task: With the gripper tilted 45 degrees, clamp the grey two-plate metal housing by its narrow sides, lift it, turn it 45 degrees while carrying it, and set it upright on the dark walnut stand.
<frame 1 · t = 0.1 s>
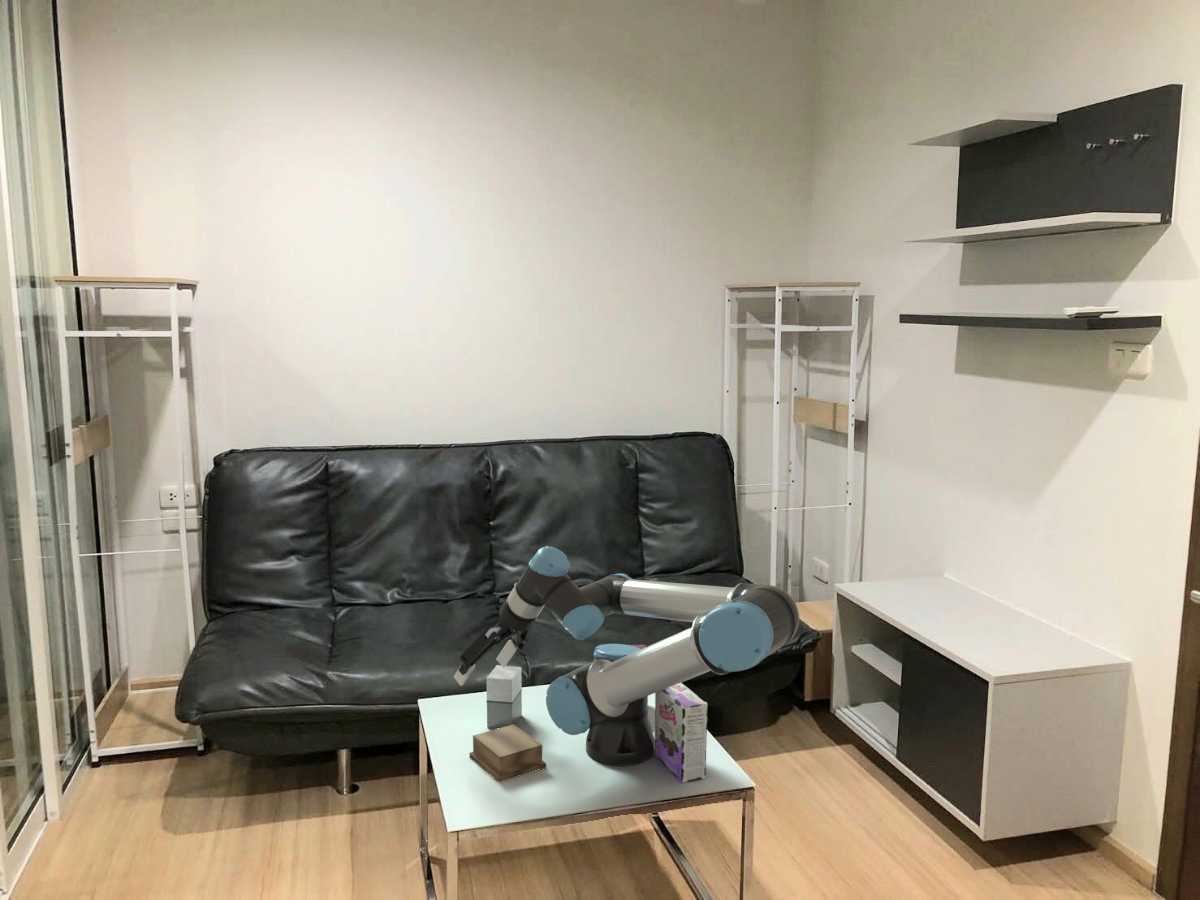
hand: (479, 671, 212), 15 cm above the table, tool tilted 35°, fingers open, 13 cm apart
candy box: (679, 767, 201), on the table
walnut stand: (507, 762, 202), on the table
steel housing: (504, 721, 223), on the table
greeting card: (621, 709, 230), on the table
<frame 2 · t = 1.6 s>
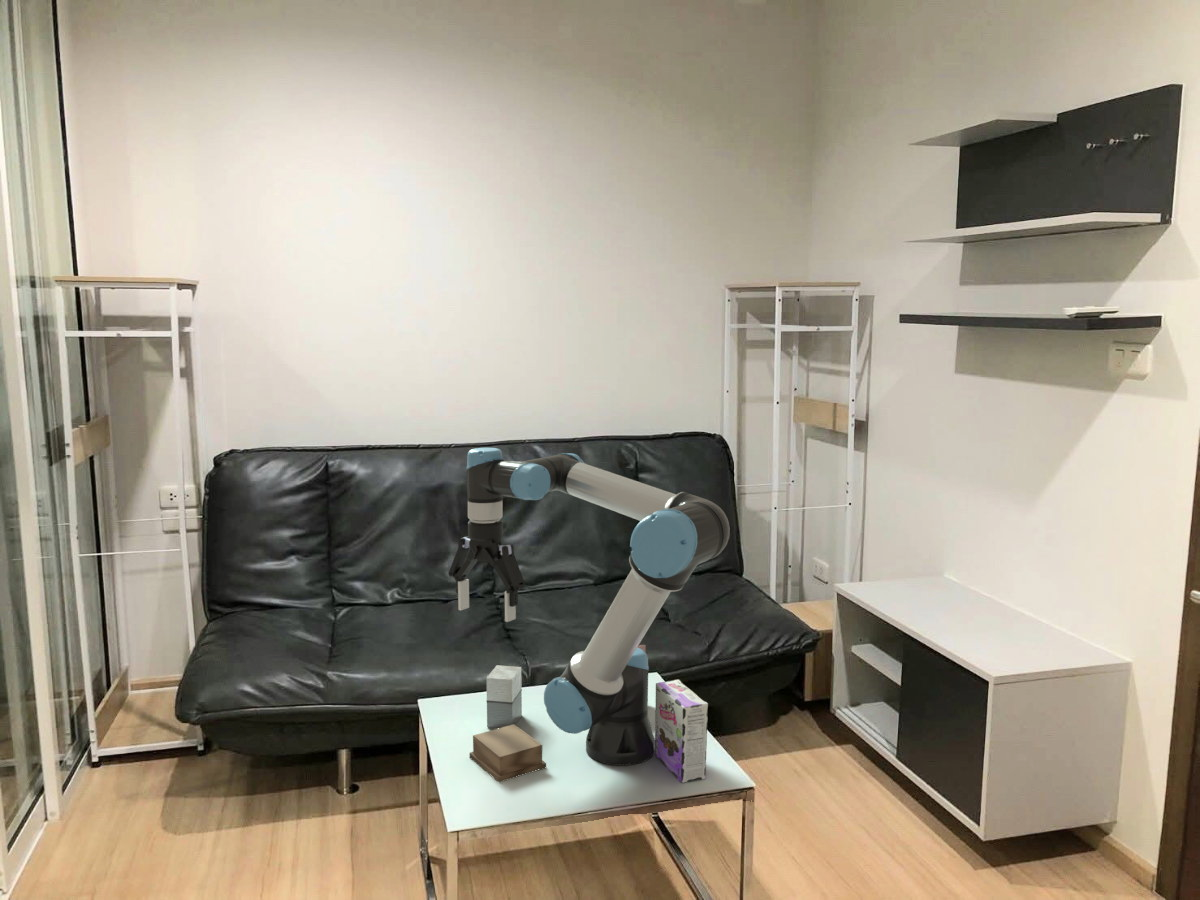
hand: (486, 614, 209), 29 cm above the table, tool pointing down, fingers open, 13 cm apart
nothing on the table moved.
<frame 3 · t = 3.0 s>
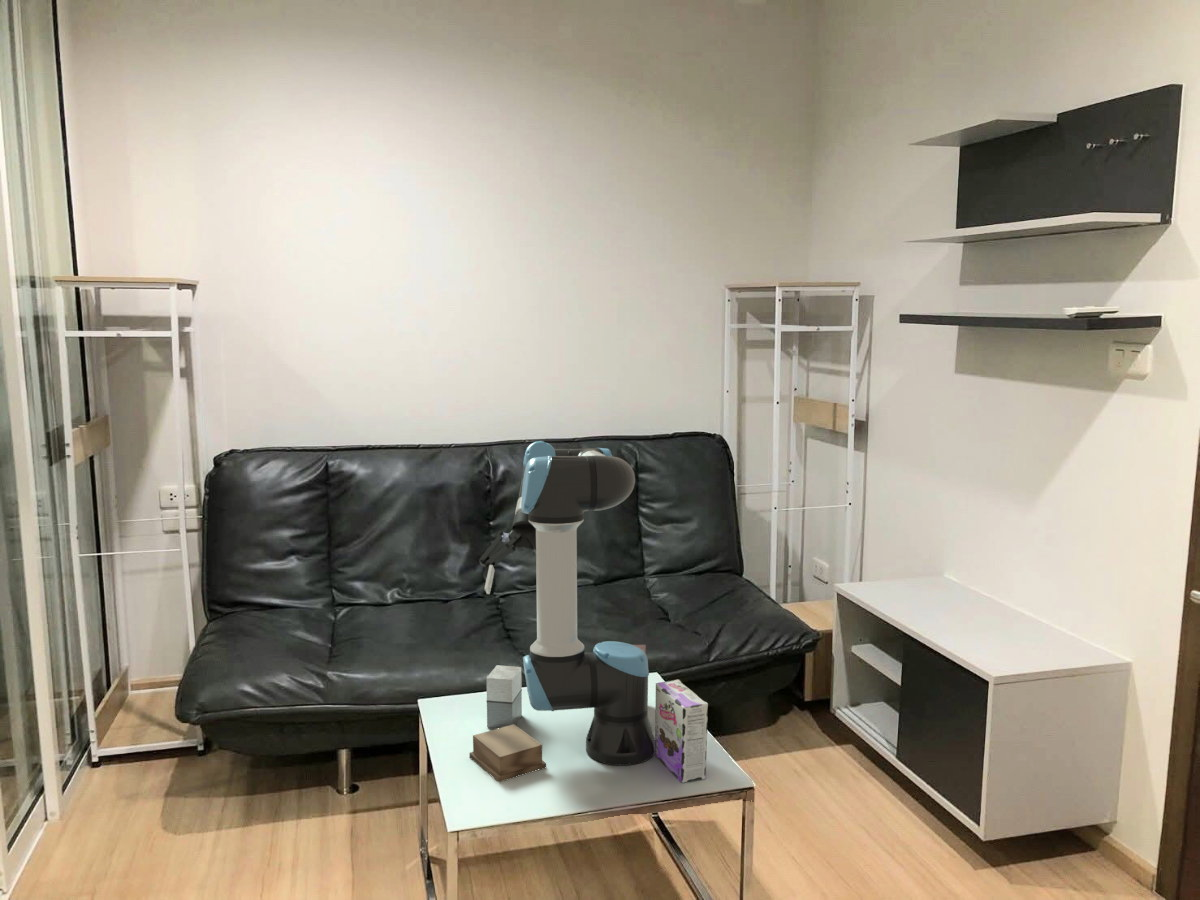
hand: (514, 593, 228), 28 cm above the table, tool tilted 45°, fingers open, 13 cm apart
nothing on the table moved.
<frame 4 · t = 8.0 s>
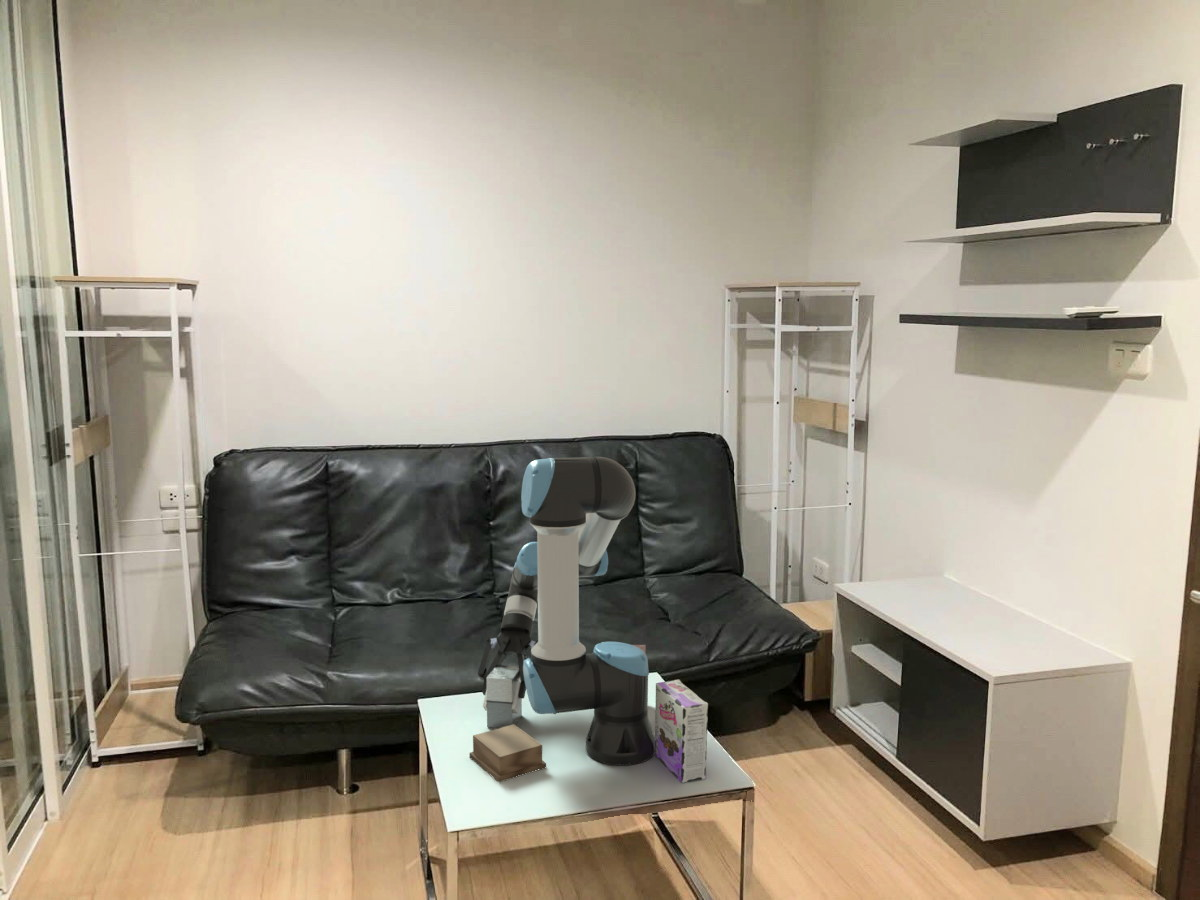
hand: (500, 709, 218), 4 cm above the table, tool tilted 45°, fingers closed on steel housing, 6 cm apart
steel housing: (504, 721, 222), on the table, touching gripper
everything else where it was.
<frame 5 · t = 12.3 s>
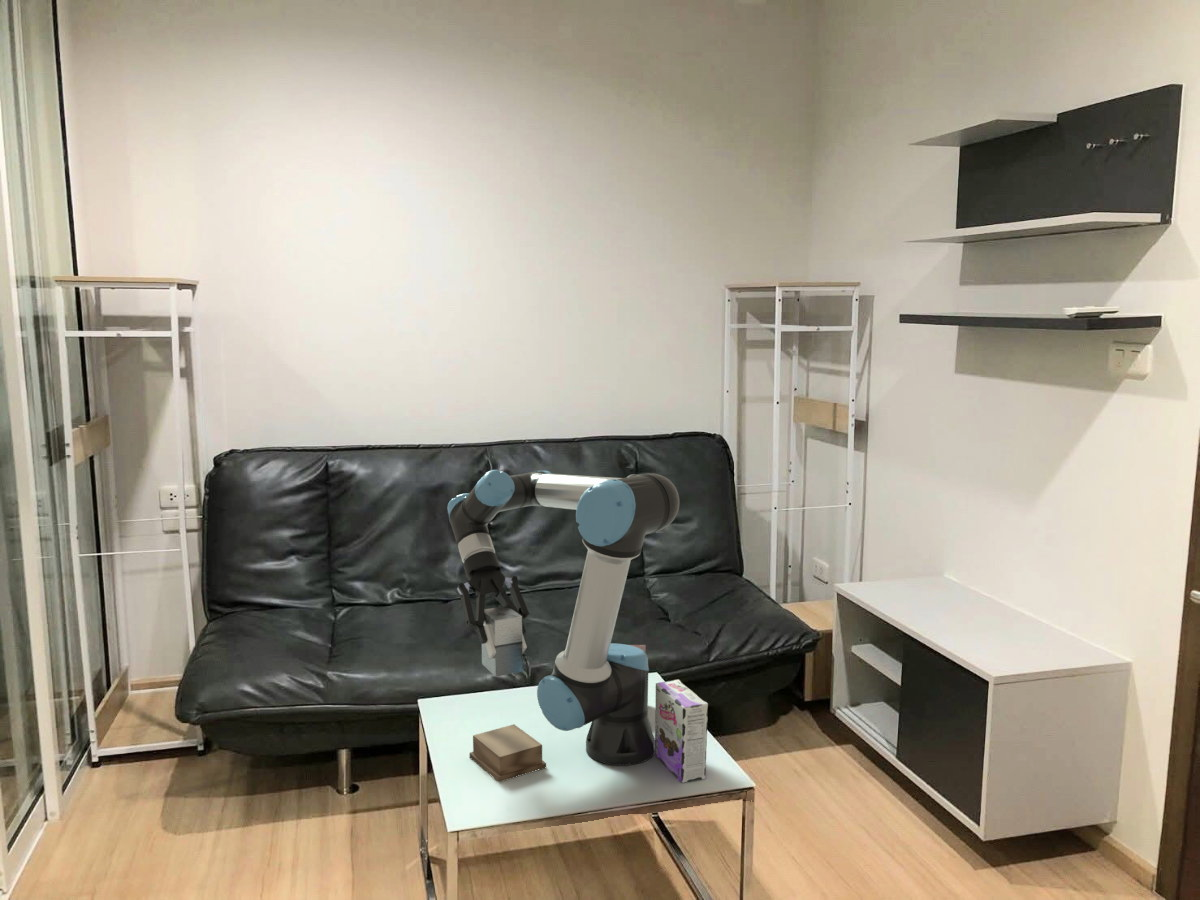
hand: (508, 653, 198), 24 cm above the table, tool tilted 45°, fingers closed on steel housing, 6 cm apart
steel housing: (501, 667, 202), point 20 cm above the table, touching gripper
everything else where it was.
when the fingers open (11 cm above the table, at t = 16.5 s): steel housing drops 1 cm, resting on walnut stand.
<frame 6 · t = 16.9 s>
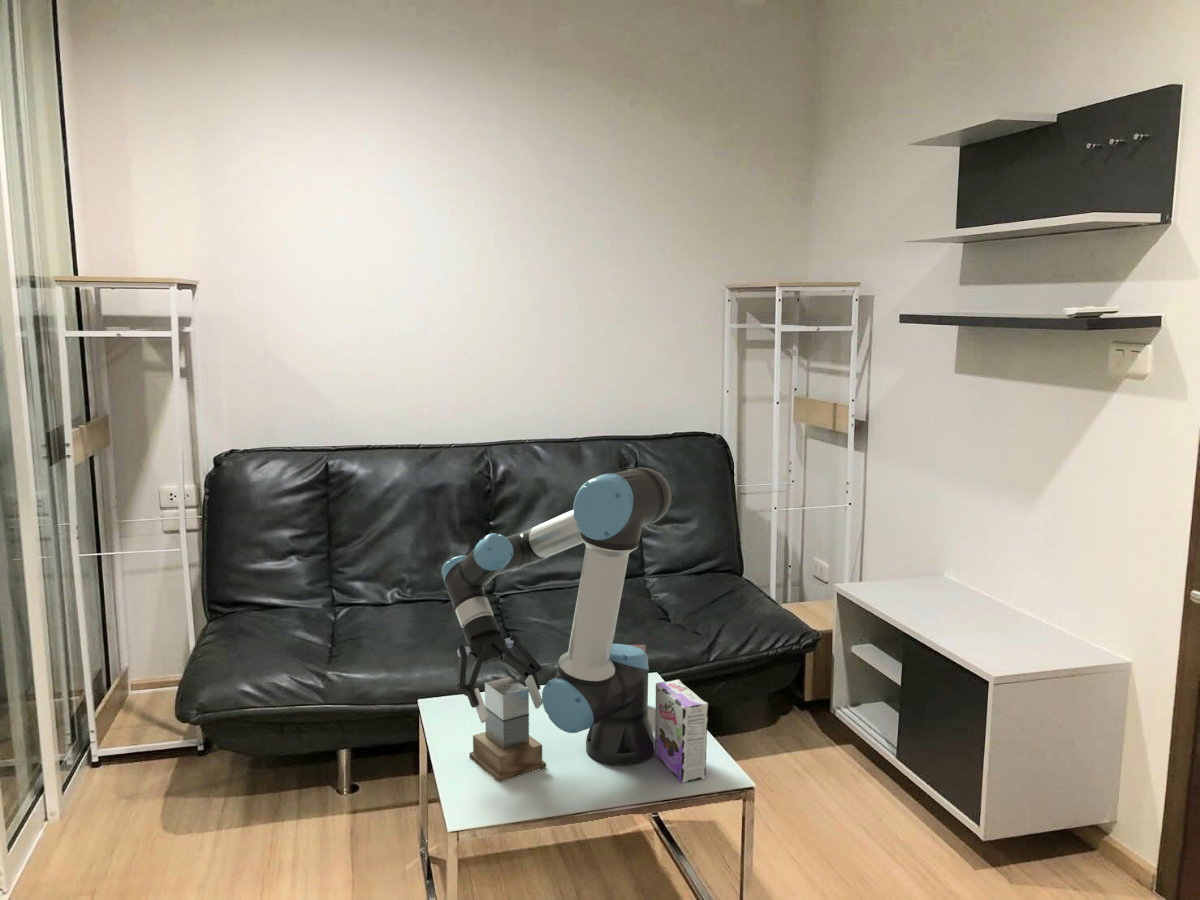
hand: (512, 712, 199), 12 cm above the table, tool tilted 45°, fingers open, 12 cm apart
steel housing: (507, 739, 202), point 5 cm above the table, touching walnut stand
everything else where it was.
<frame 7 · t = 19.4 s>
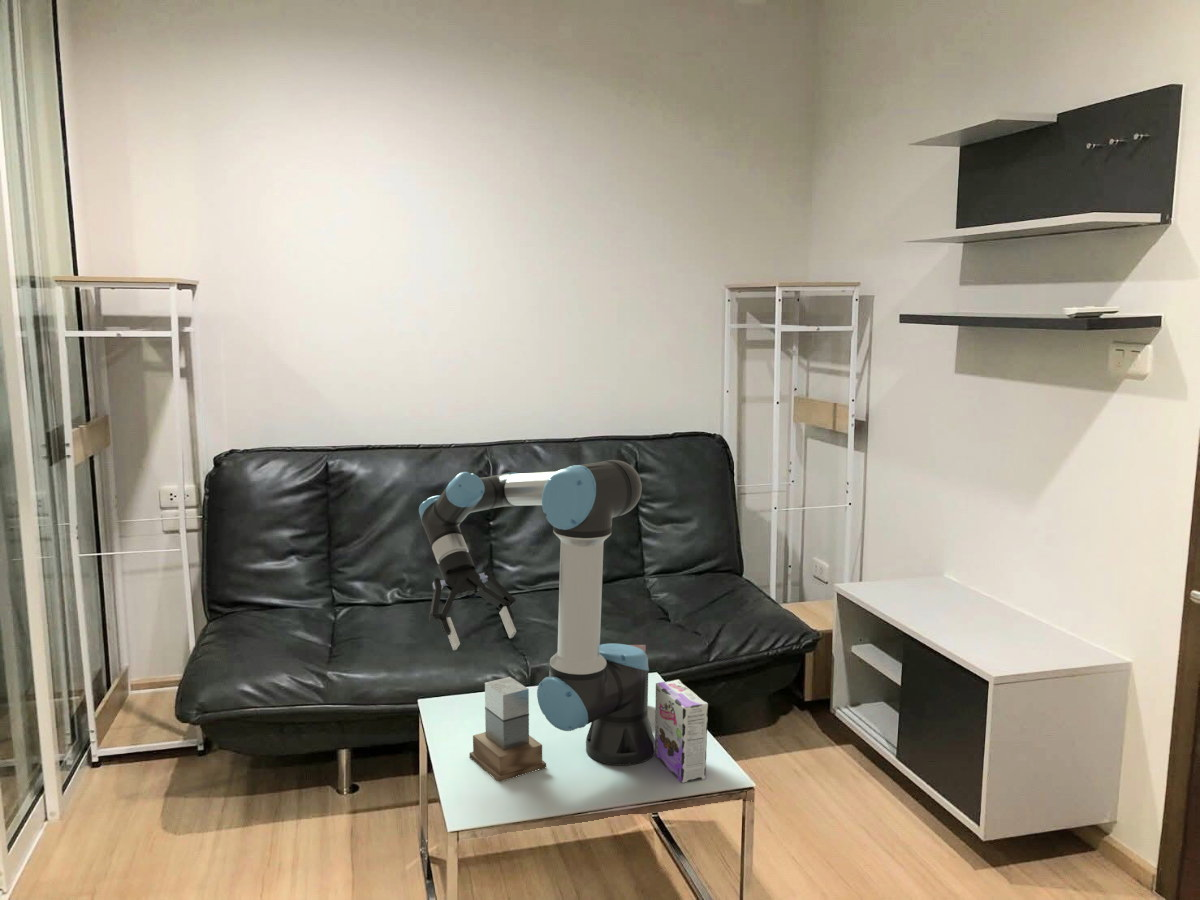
hand: (485, 641, 206), 24 cm above the table, tool tilted 45°, fingers open, 13 cm apart
nothing on the table moved.
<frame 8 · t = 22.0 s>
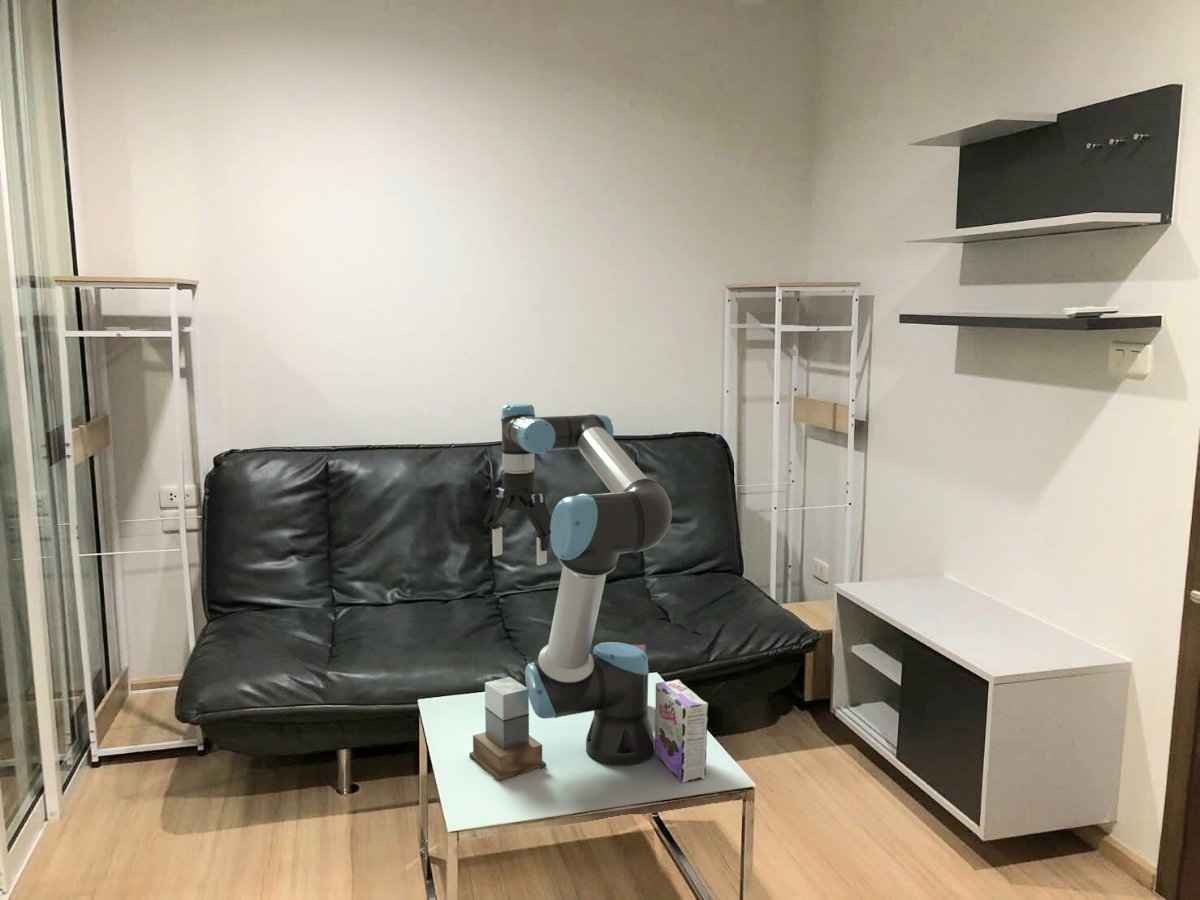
hand: (519, 559, 225), 37 cm above the table, tool pointing down, fingers open, 13 cm apart
nothing on the table moved.
at the end: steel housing inside the target area on the walnut stand (0.1 cm from its centre), point 5.0 cm above the walnut stand's base; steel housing tilted 0°; the gripper is holding nothing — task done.
